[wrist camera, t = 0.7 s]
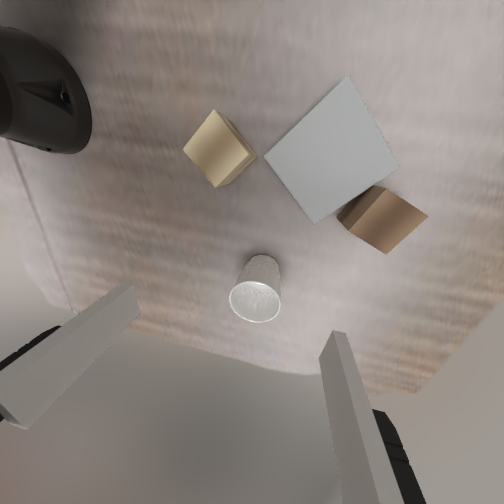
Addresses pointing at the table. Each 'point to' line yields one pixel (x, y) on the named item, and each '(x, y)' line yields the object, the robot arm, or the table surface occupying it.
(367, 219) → the walnut block
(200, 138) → the maple block
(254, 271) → the white cup
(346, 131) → the grey block
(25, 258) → the table surface
